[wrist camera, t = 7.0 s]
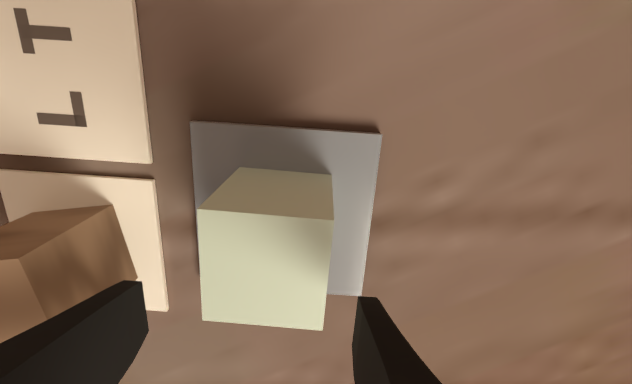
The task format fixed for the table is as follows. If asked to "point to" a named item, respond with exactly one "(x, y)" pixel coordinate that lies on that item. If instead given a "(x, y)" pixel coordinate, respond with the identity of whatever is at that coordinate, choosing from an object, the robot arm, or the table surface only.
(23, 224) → the walnut block
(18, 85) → the tile
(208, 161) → the light grey square plate
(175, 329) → the table surface
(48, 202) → the plain tile
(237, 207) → the sage block
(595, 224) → the table surface
